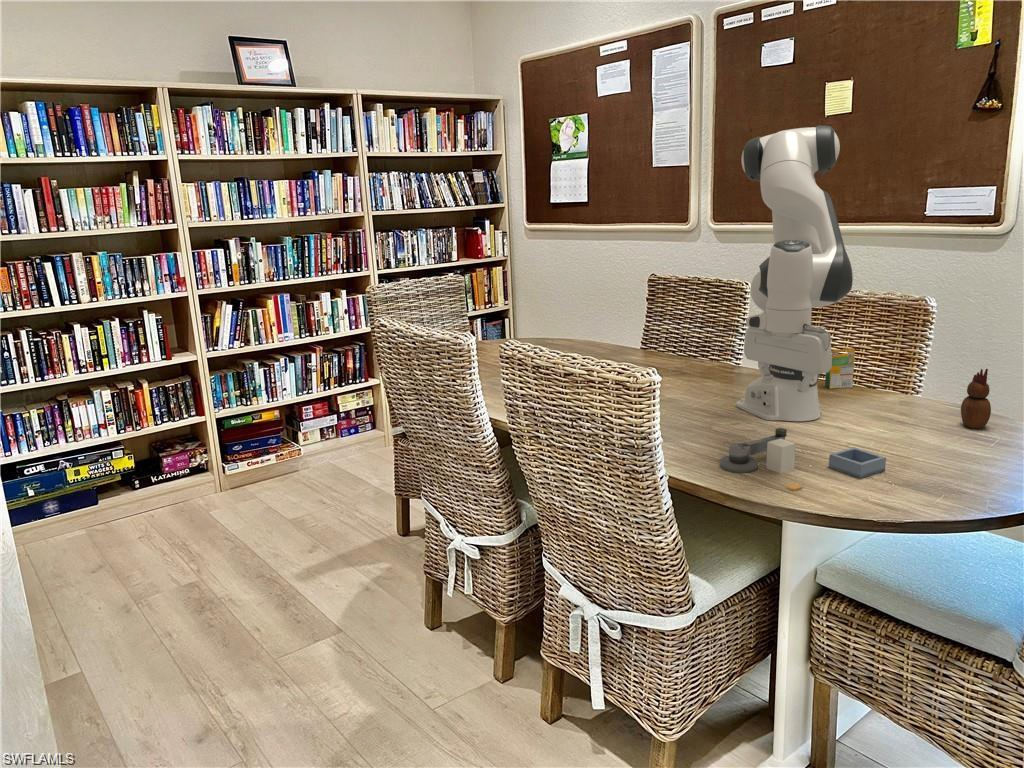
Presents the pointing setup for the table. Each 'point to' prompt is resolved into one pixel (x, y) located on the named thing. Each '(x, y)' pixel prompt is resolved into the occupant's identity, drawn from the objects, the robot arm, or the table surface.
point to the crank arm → (752, 447)
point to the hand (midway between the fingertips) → (784, 387)
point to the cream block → (780, 455)
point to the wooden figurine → (976, 402)
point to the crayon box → (841, 370)
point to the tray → (857, 462)
